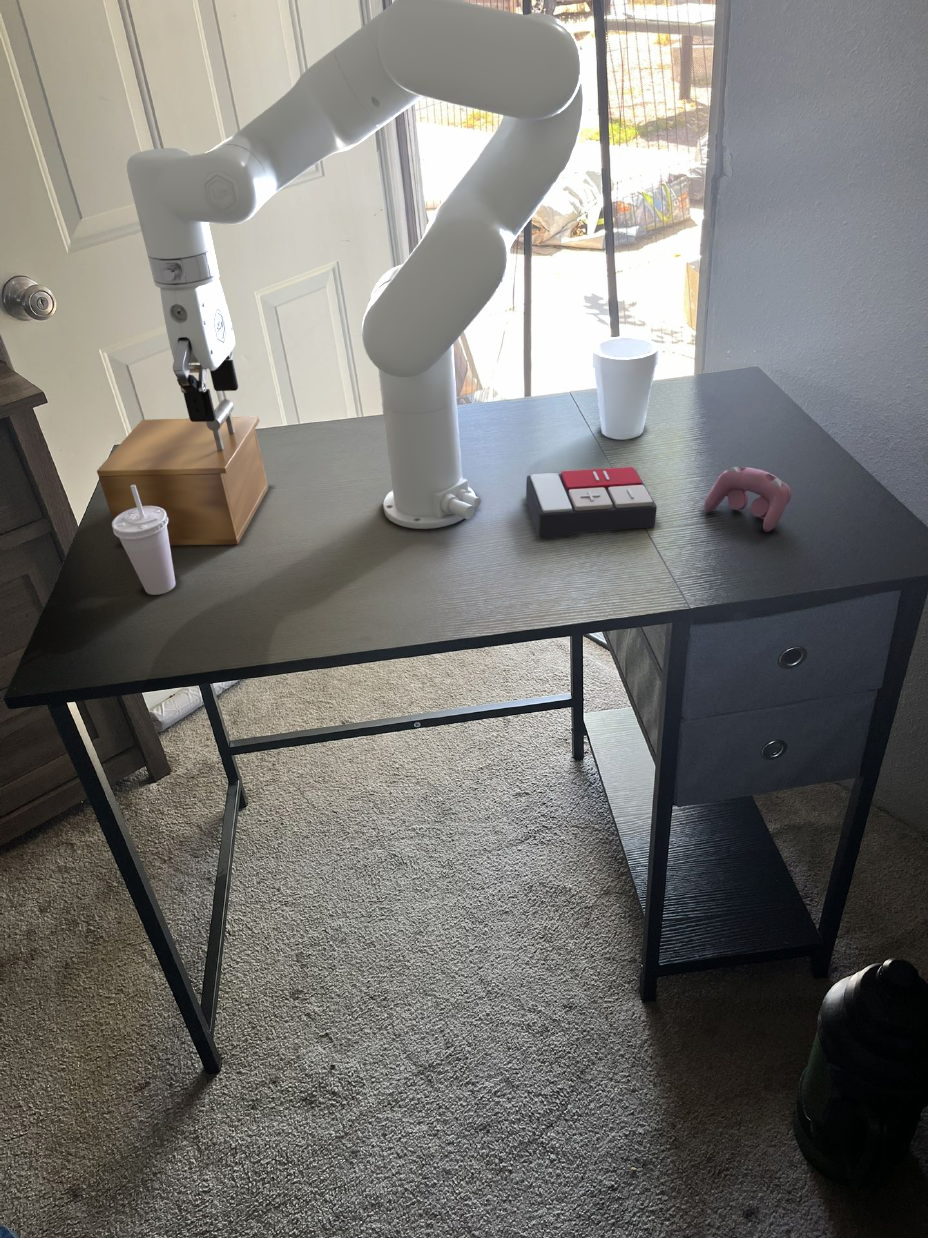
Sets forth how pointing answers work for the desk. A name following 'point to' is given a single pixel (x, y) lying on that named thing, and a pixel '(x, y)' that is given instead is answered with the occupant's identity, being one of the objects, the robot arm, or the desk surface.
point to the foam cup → (624, 383)
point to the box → (198, 499)
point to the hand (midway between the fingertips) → (215, 404)
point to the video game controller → (755, 481)
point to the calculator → (589, 501)
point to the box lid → (181, 446)
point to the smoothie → (147, 545)
